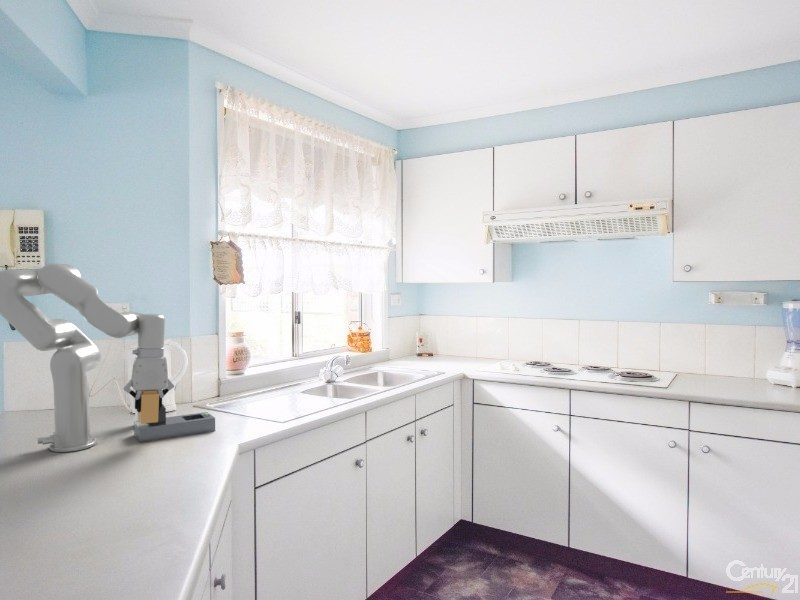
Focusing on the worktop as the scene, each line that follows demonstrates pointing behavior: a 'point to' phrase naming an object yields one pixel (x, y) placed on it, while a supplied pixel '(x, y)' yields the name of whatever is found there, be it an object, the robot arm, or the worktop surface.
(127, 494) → the worktop surface
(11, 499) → the worktop surface
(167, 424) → the power strip
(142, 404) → the plug
